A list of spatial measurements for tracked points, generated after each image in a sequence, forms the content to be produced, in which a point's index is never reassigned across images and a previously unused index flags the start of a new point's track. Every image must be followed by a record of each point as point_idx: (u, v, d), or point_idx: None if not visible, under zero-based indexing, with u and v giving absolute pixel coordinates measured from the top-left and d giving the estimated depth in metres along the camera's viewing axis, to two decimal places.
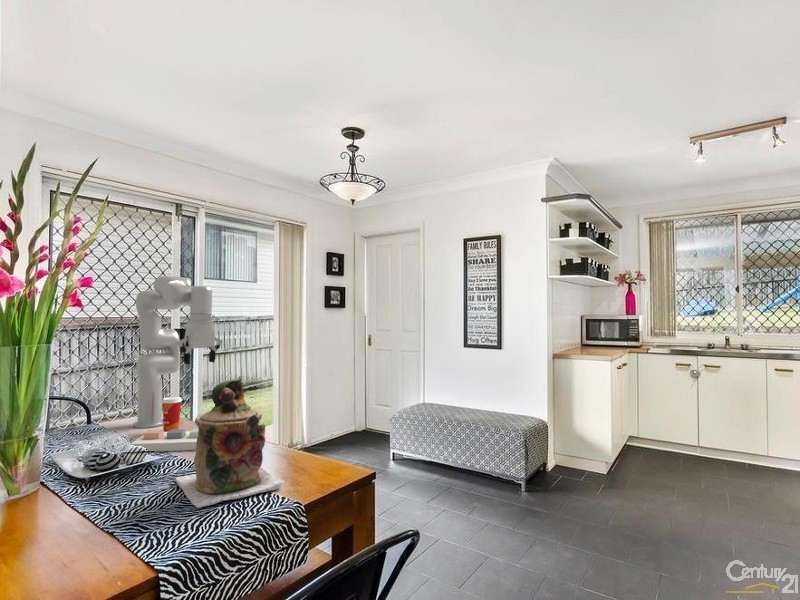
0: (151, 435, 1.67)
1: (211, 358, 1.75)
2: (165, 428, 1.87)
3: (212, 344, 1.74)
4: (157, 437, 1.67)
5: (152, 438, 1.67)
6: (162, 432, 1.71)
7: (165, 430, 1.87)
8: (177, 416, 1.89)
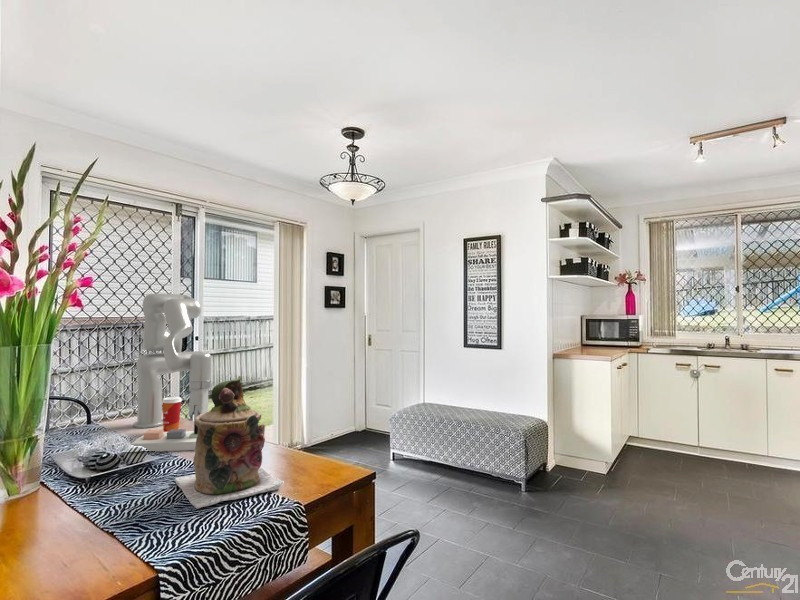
0: (151, 435, 1.67)
1: None
2: (165, 428, 1.87)
3: (207, 409, 1.77)
4: (157, 437, 1.67)
5: (152, 438, 1.67)
6: (162, 432, 1.71)
7: (165, 430, 1.87)
8: (177, 416, 1.89)
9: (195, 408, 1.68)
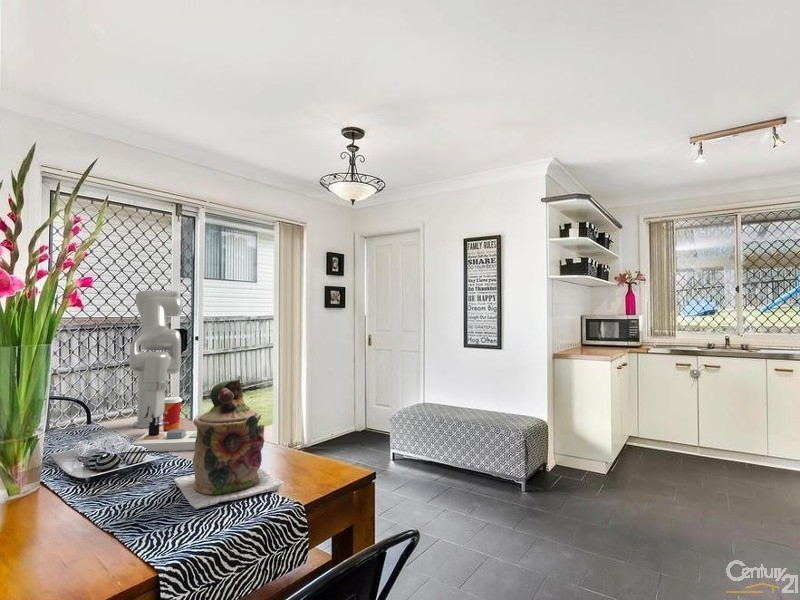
0: (150, 439, 1.67)
1: None
2: (165, 428, 1.87)
3: (163, 411, 1.74)
4: None
5: None
6: (162, 436, 1.71)
7: (165, 430, 1.87)
8: (177, 416, 1.89)
9: (149, 410, 1.65)
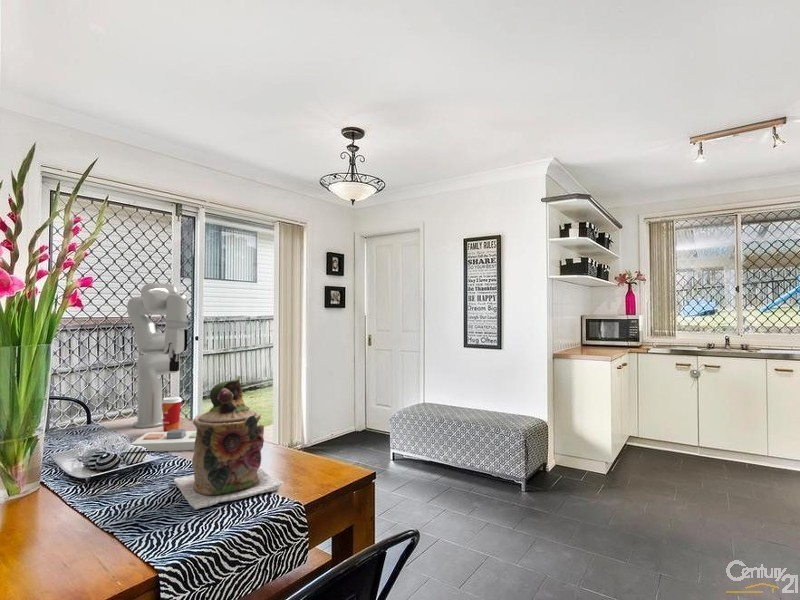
0: (150, 439, 1.67)
1: None
2: (165, 428, 1.87)
3: (183, 349, 1.83)
4: None
5: None
6: (162, 436, 1.71)
7: (165, 430, 1.87)
8: (177, 416, 1.89)
9: (170, 346, 1.75)
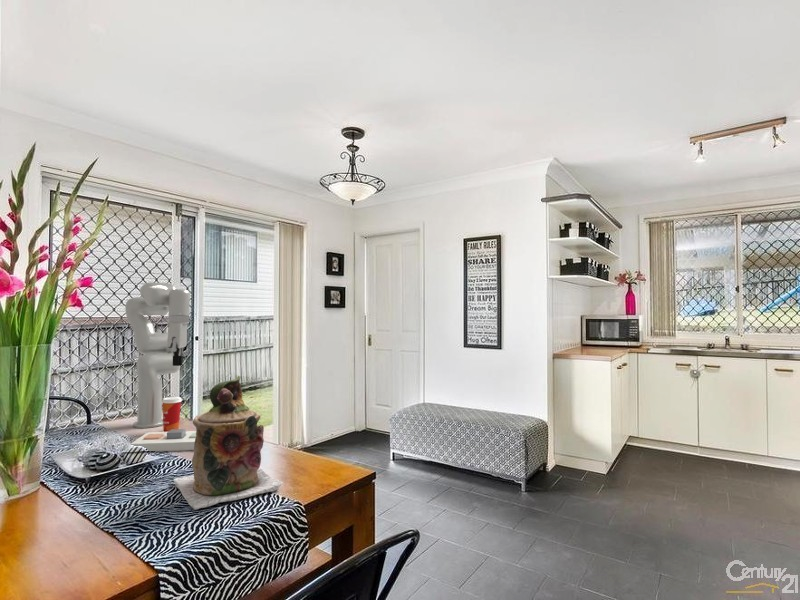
0: (150, 439, 1.67)
1: None
2: (165, 428, 1.87)
3: (186, 344, 1.85)
4: None
5: None
6: (162, 436, 1.71)
7: (165, 430, 1.87)
8: (177, 416, 1.89)
9: (173, 340, 1.76)
